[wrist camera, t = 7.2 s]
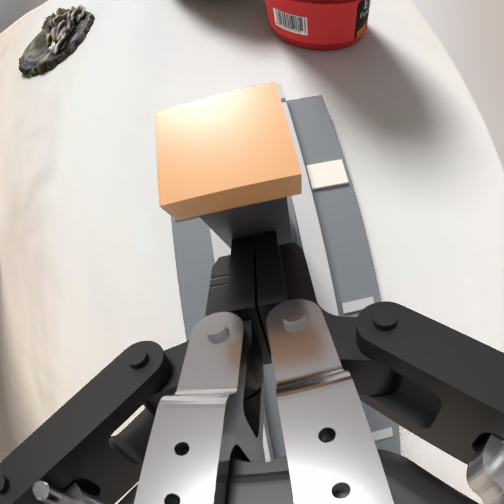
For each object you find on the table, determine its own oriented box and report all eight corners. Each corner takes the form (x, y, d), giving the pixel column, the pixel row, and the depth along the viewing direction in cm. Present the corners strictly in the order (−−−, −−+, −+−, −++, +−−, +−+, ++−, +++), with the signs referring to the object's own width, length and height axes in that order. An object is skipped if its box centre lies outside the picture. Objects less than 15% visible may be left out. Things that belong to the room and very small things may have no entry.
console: (235, 527, 14) (226, 547, 12) (171, 133, 20) (158, 114, 18) (396, 502, 13) (406, 521, 11) (318, 100, 19) (319, 77, 17)
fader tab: (246, 281, 16) (160, 219, 6) (236, 224, 17) (155, 103, 7) (302, 271, 16) (305, 188, 6) (290, 213, 16) (272, 73, 6)
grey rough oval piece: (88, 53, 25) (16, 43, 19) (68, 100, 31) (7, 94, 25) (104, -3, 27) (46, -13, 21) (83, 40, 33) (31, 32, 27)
